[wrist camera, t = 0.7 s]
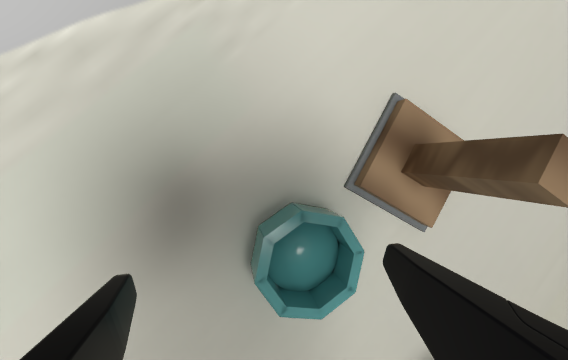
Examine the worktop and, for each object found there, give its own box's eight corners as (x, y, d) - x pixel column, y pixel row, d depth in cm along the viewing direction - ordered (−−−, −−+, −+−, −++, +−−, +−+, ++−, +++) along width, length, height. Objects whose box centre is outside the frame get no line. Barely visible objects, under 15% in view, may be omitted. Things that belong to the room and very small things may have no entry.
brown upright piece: (423, 224, 26) (579, 278, 15) (353, 184, 24) (472, 209, 12) (462, 147, 26) (647, 139, 15) (397, 101, 24) (553, 49, 13)
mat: (421, 231, 27) (424, 232, 26) (344, 186, 24) (346, 187, 24) (465, 145, 27) (468, 145, 27) (392, 93, 25) (395, 92, 24)
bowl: (332, 299, 25) (349, 321, 22) (245, 291, 23) (248, 315, 20) (351, 212, 25) (371, 221, 21) (263, 197, 23) (270, 205, 19)
